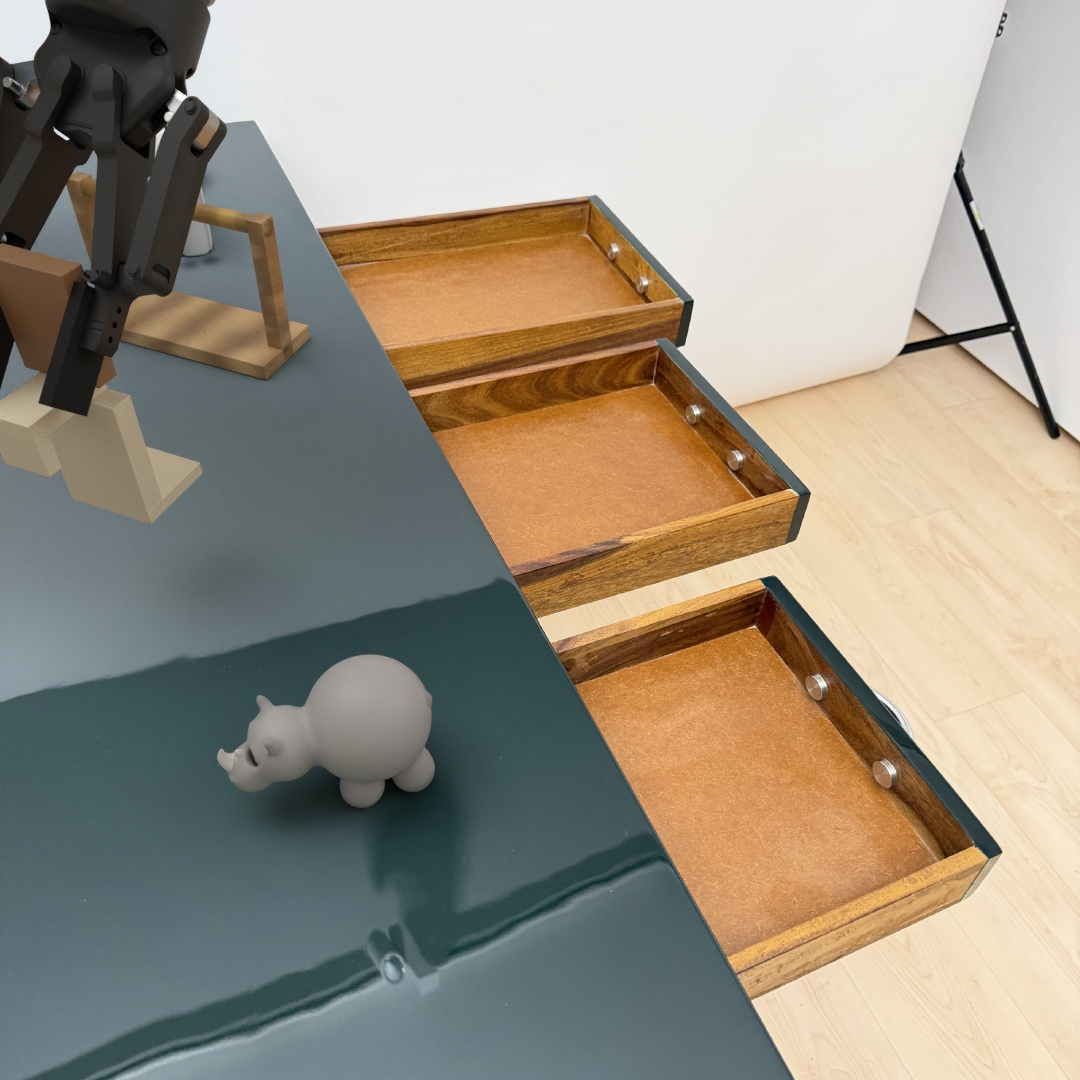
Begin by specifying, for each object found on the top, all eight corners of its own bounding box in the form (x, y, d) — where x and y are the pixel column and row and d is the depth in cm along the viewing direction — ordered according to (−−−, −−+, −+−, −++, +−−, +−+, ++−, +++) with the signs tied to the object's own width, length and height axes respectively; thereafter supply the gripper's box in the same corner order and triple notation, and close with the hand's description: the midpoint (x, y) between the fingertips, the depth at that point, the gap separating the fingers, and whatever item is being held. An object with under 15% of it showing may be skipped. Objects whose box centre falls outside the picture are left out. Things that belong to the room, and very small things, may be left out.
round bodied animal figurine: (227, 750, 55) (197, 664, 49) (418, 703, 58) (413, 616, 52) (240, 857, 50) (209, 776, 44) (448, 798, 53) (446, 715, 47)
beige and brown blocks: (23, 542, 55) (-97, 290, 43) (127, 450, 62) (48, 210, 50) (106, 570, 54) (5, 318, 42) (203, 473, 60) (140, 233, 48)
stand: (85, 331, 87) (38, 191, 77) (138, 294, 92) (100, 158, 83) (266, 380, 83) (240, 238, 73) (310, 338, 88) (291, 201, 79)
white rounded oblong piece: (218, 254, 99) (194, 139, 91) (177, 259, 98) (150, 144, 89) (201, 215, 106) (178, 105, 97) (163, 220, 104) (136, 108, 96)
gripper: (323, 45, 49) (204, 451, 49) (50, -7, 53) (-59, 372, 53) (254, -50, 42) (115, 427, 42) (-57, -103, 45) (-184, 337, 46)
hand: (18, 395), depth 47 cm, fingers closed on beige and brown blocks, 5 cm apart
